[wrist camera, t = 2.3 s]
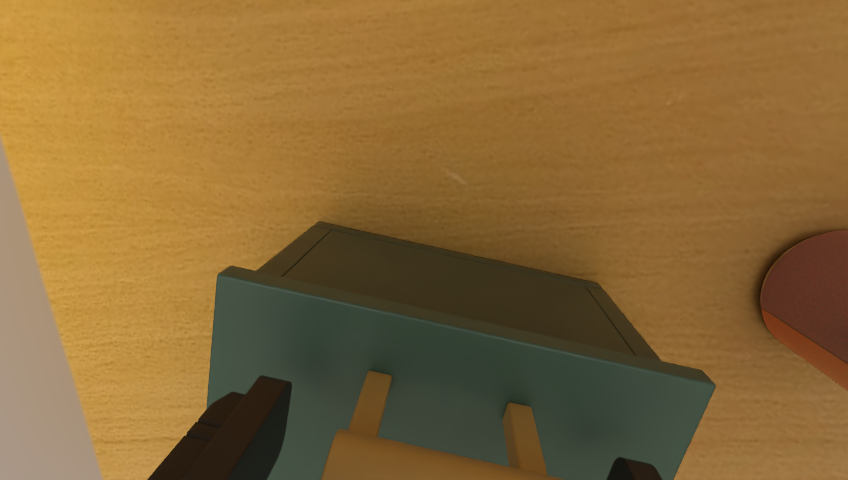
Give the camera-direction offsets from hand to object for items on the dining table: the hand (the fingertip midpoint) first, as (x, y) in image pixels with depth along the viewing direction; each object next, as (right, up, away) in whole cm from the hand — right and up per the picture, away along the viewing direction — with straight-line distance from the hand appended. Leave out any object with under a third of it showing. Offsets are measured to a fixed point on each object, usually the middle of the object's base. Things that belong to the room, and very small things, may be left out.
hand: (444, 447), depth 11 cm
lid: (-1, -5, +4) cm, 7 cm away
